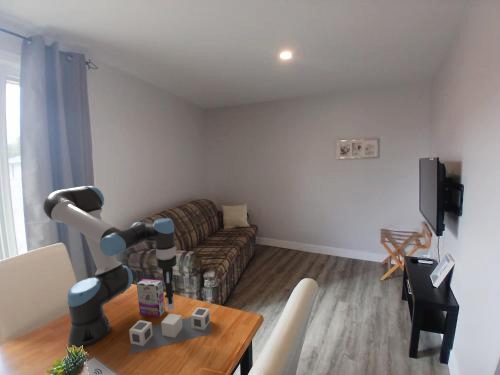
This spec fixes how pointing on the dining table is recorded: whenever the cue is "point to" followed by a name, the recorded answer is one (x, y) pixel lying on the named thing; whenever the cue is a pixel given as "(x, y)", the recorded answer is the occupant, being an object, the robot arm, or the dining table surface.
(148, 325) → the marked block
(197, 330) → the grey mat
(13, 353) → the dining table surface
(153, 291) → the candy bar box
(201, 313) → the marked block
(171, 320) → the plain block
